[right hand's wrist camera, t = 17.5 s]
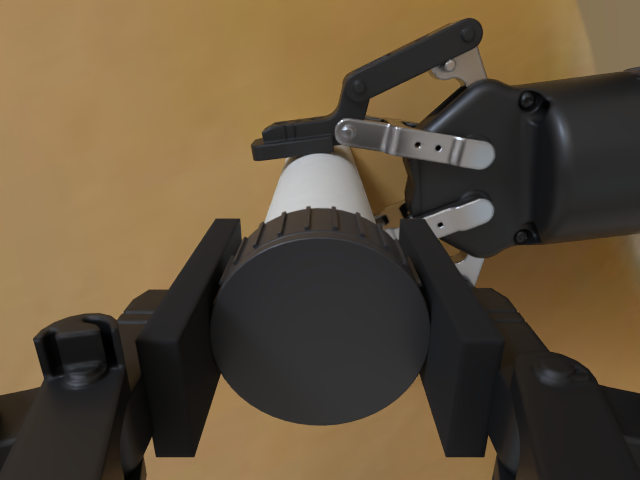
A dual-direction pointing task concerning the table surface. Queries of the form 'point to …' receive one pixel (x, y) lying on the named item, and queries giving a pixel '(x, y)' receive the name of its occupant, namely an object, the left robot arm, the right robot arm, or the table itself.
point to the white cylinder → (320, 184)
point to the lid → (320, 318)
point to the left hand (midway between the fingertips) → (264, 198)
